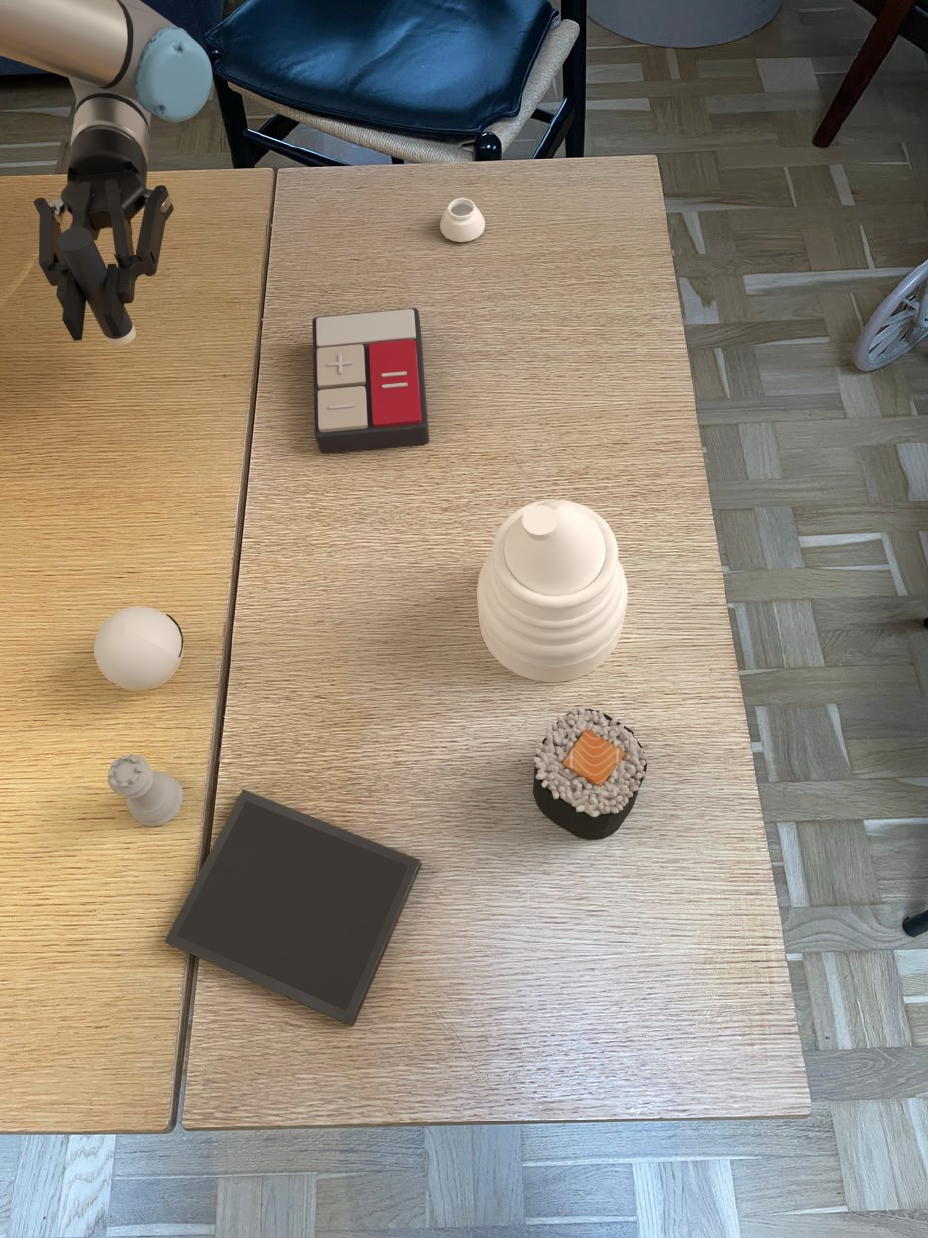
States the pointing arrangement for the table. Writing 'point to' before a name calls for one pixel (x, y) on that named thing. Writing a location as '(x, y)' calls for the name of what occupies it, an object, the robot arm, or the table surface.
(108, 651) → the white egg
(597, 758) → the sushi
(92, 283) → the marker
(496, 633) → the honey pot
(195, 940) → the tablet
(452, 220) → the lidless jar
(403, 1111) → the table surface
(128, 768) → the rook chess piece
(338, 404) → the calculator
